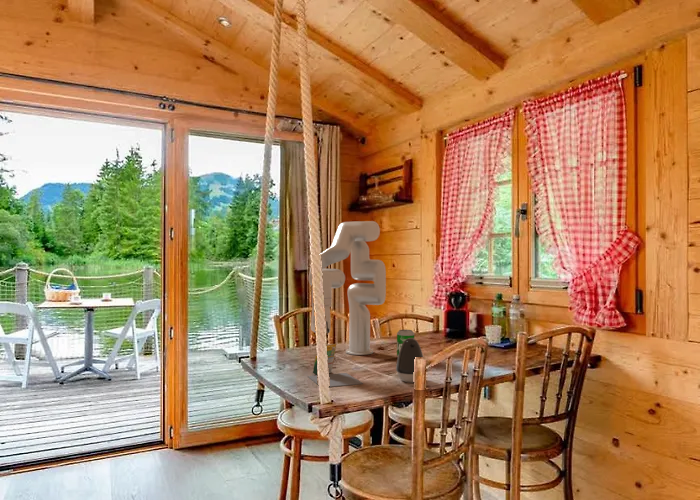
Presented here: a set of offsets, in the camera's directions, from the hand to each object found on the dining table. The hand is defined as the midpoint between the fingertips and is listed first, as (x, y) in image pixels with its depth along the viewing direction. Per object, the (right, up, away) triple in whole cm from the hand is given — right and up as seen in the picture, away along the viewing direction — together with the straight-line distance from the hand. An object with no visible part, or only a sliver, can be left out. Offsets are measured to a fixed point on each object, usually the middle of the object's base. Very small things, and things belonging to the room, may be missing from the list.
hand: (321, 351), depth 186 cm
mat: (+6, -8, -11) cm, 15 cm away
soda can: (+35, -9, +28) cm, 46 cm away
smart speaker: (+32, -9, -11) cm, 35 cm away
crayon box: (0, -8, -1) cm, 8 cm away
